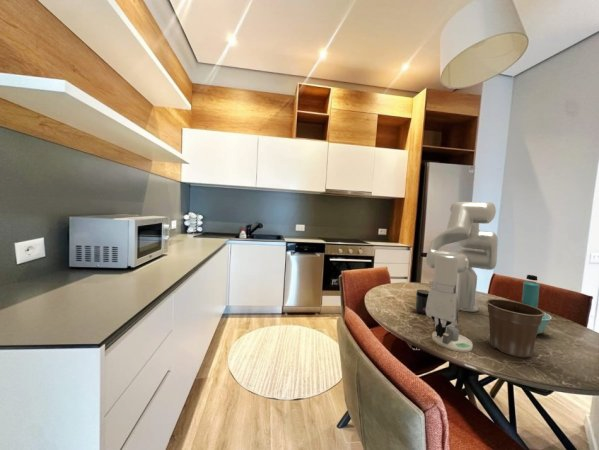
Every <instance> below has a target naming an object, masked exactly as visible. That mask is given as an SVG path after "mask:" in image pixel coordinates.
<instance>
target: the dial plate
mask: <svg viewBox="0 0 599 450" xmlns="http://www.w3.org/2000/svg"><path fill="white" fill-rule="evenodd" d="M432 340H433V342H434V343H436V344H437V345H439V346H440V347H442V348H444V349H447V350H451V351H454V352H459V353H468V352H471V351H473V342H472V340H471V339H469V338H467V337H466V336H464V335H461V334H459V336H458V340H457V341H455V340H451V341H450V342H449V343H448V344H445V343H443V336H442V337H440V336H437V332H436V330H435V331H433V332H432Z"/></svg>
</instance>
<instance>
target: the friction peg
mask: <svg viewBox="0 0 599 450" xmlns="http://www.w3.org/2000/svg"><path fill="white" fill-rule="evenodd" d="M459 333H460V329H458V327H450V326H448V327H447V329H446V333H444V334H443V343H445V344H448V343H449V342H450V341H451V340H455V341H457V340H458V336H459Z"/></svg>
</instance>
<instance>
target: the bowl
mask: <svg viewBox="0 0 599 450" xmlns="http://www.w3.org/2000/svg"><path fill="white" fill-rule="evenodd" d="M544 313H545V314H544V316H542V320H541V324H540V325H539V327H538V332H537V335H539V334H542V333H543V332H544V330H545V329H546V328H547V327H548V325H549V323H550V322H551V320H552V316H551V315H550V314H548V313H546V312H544Z"/></svg>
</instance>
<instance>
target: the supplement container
mask: <svg viewBox="0 0 599 450" xmlns="http://www.w3.org/2000/svg"><path fill="white" fill-rule="evenodd" d="M429 291H430V290H427V289H416V292H415V294H416V296H415V308H414V310H415V312H416V313H418V314H419V315H423V316H427V315H426V304H427V299H428V294H429Z"/></svg>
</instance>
